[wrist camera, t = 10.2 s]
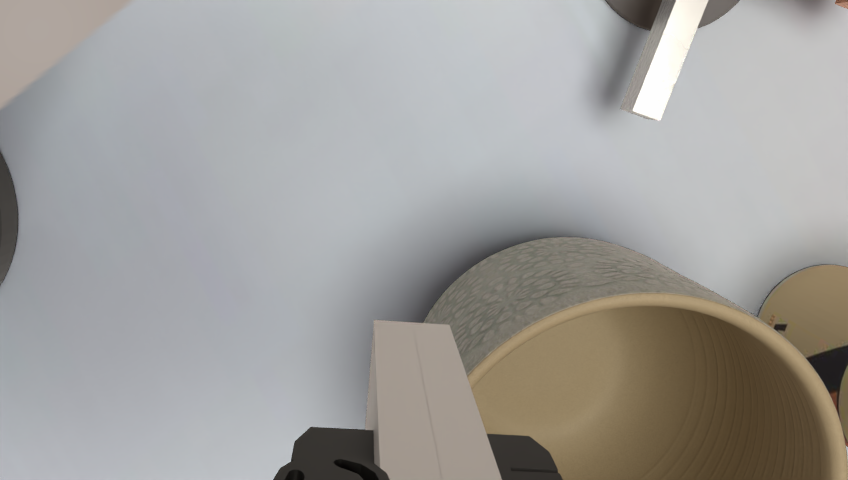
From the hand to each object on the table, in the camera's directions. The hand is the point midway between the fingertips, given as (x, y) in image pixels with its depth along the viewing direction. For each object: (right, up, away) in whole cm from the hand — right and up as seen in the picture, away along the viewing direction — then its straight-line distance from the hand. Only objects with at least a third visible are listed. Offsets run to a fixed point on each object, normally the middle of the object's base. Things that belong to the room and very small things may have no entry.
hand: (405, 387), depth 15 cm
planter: (+7, -4, +29) cm, 30 cm away
